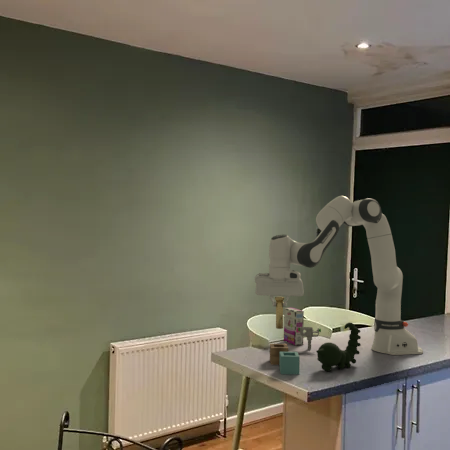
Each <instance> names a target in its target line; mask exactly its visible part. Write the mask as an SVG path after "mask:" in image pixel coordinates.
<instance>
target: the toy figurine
mask: <svg viewBox="0 0 450 450" xmlns="http://www.w3.org/2000/svg"><path fill="white" fill-rule="evenodd" d="M347 329H350V332H349V335H348V337H349V339H348V341H347V345H346V347H345V349H344V350H343V349H341V348H340V347H339V346H338V345H337V344H336V343H333V342H330V341H329V342H324V343H322V344H321V345H320V346H319V347H318V350H316V351H315V352H316V353H317V361H318V362H320V363H321V370H323V371H324V372H331V370H332V367H338V368H339V369H341V370H342V369H345V368H351V366H352V365H351V363H352V364H356V363H357V359H355V355H360V351H359V350H358V347H361V346H362V345H361V343H360V342H358V340H360V339H361V335H359V334H360V333H361V331H362V330H361V329H359V328H358V327H357V326H356V324H354V323H353V322H347V323H346V324H345V325H344V330H347Z"/></svg>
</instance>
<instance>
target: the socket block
mask: <svg viewBox="0 0 450 450" xmlns="http://www.w3.org/2000/svg"><path fill="white" fill-rule="evenodd" d="M300 357H301V356H300V354H299V353H298V351H288V352H279V365H278V366H279V368H278V369H279V372H280V374H281V375H300V362H301V361H300Z"/></svg>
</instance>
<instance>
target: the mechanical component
mask: <svg viewBox="0 0 450 450" xmlns="http://www.w3.org/2000/svg"><path fill="white" fill-rule="evenodd" d="M298 331H300V335H301V336H303V337H306V340H307V349H308V350H309V351H310V350H311V349H312V340H313V338H315V337H316V338H317V337H319V336H320V333H322V329H321V328H320V327H317V329H316V331H315V330H314V329H313V327H311V326H303V327H300V328H298Z"/></svg>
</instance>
